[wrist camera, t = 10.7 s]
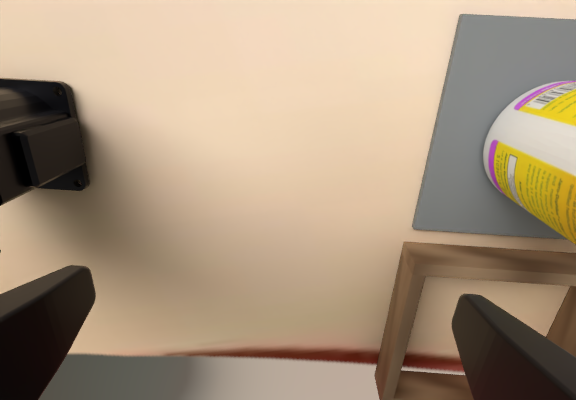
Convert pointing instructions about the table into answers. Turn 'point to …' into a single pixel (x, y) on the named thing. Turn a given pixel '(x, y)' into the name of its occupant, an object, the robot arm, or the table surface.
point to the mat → (488, 119)
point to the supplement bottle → (538, 154)
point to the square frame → (469, 265)
